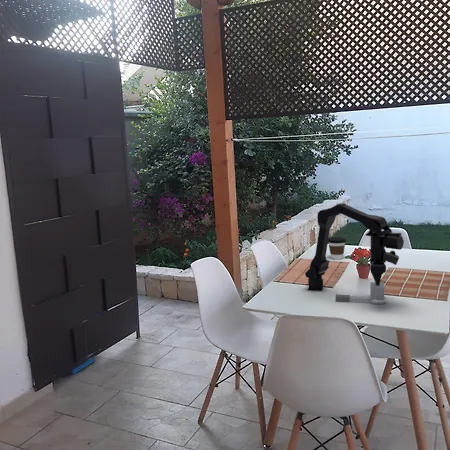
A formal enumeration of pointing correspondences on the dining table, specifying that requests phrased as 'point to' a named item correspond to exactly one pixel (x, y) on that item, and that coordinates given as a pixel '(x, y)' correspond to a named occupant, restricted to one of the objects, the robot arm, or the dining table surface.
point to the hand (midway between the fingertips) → (377, 282)
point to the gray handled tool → (358, 299)
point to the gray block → (376, 291)
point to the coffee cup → (336, 247)
